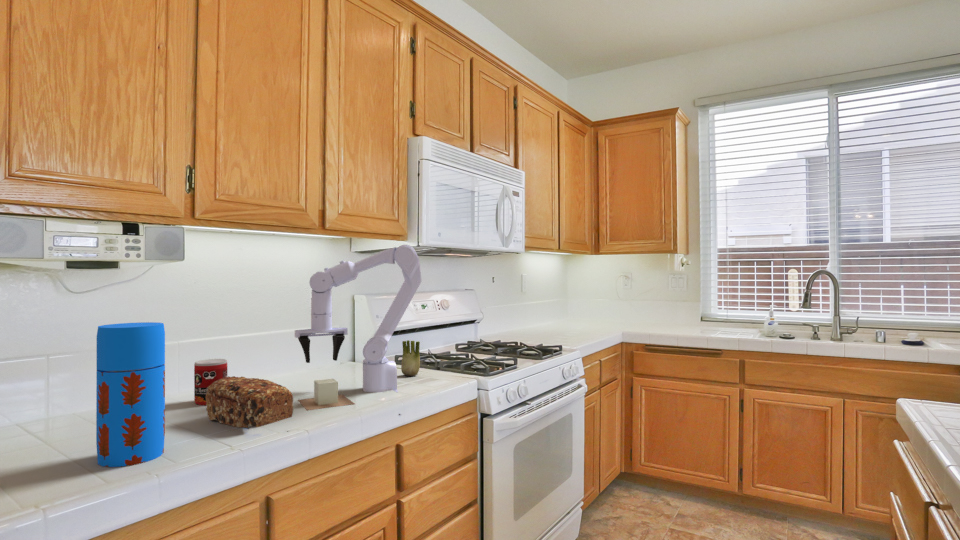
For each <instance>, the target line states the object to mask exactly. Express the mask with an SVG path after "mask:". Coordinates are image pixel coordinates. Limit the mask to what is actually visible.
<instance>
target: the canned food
mask: <svg viewBox="0 0 960 540" xmlns="http://www.w3.org/2000/svg"><path fill="white" fill-rule="evenodd" d="M193 372H194V374H193V375H194V376H193V377H194V378H193V379H194V386H193V387H194V388H193V390H194V391H193V392H194V396H193V397H194V398H193V399H194V403H195V404H196V405H197V404H198V406H206V403H207V402H206V394H207V391H208V386H210V385H211V384H212V383H213V382H214V381H217V380H219V379H222V378H226V377H228V359H225V358H208V359H200V360H197V361H195V362H194V369H193Z"/></svg>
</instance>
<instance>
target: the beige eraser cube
mask: <svg viewBox="0 0 960 540" xmlns="http://www.w3.org/2000/svg"><path fill="white" fill-rule="evenodd" d="M338 395H339V381H337V380H336V379H335V378H326V379H317V380H316V379H315V380H314V381H313V398H314V401H315V402H316V403H317V404H318V405H324V404H332V403H338Z"/></svg>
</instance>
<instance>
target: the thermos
mask: <svg viewBox="0 0 960 540" xmlns="http://www.w3.org/2000/svg"><path fill="white" fill-rule="evenodd" d="M165 364H166V331H165V324H164V322H155V321H154V322H153V321H152V322H149V321H148V322H124V323H123V322H122V323H111V324H102V325H98V326H97V332H96V396H95V397H96V402H95V403H96V410H95V411H96V413H95V414H96V415H95V416H96V422H95V423H96V442H95V443H96V456H97V457H96V458H97V465H99V466H101V467H105V466H106V467H107V468H120V467H121V466H122V467H127V466H126V465H129V466H134V464H135V465H139V463H140V464H143V462H144V463H146V462H150V461H153V460H155V459H158V458H159V457H161V456H162V455H163V454H164V451H165V450H164V449H165V433H166V426H165V425H166V404H165V403H166V365H165ZM122 467H121V468H122Z"/></svg>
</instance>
